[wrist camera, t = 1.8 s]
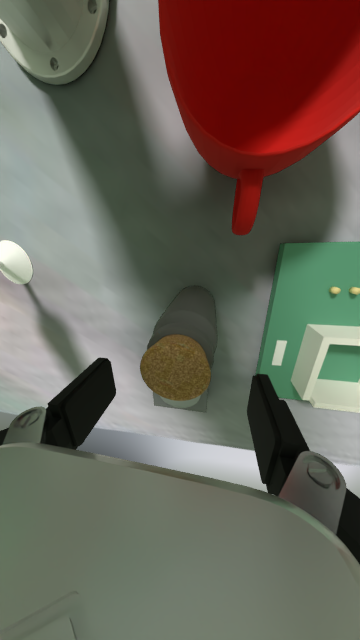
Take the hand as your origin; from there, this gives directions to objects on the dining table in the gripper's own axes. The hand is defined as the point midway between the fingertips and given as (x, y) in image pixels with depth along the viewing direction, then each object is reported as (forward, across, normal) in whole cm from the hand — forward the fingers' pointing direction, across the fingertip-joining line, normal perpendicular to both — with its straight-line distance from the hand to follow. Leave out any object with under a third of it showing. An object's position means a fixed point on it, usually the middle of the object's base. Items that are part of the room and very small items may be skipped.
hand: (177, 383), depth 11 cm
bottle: (+15, 0, -1) cm, 15 cm away
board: (+15, -19, +2) cm, 24 cm away
